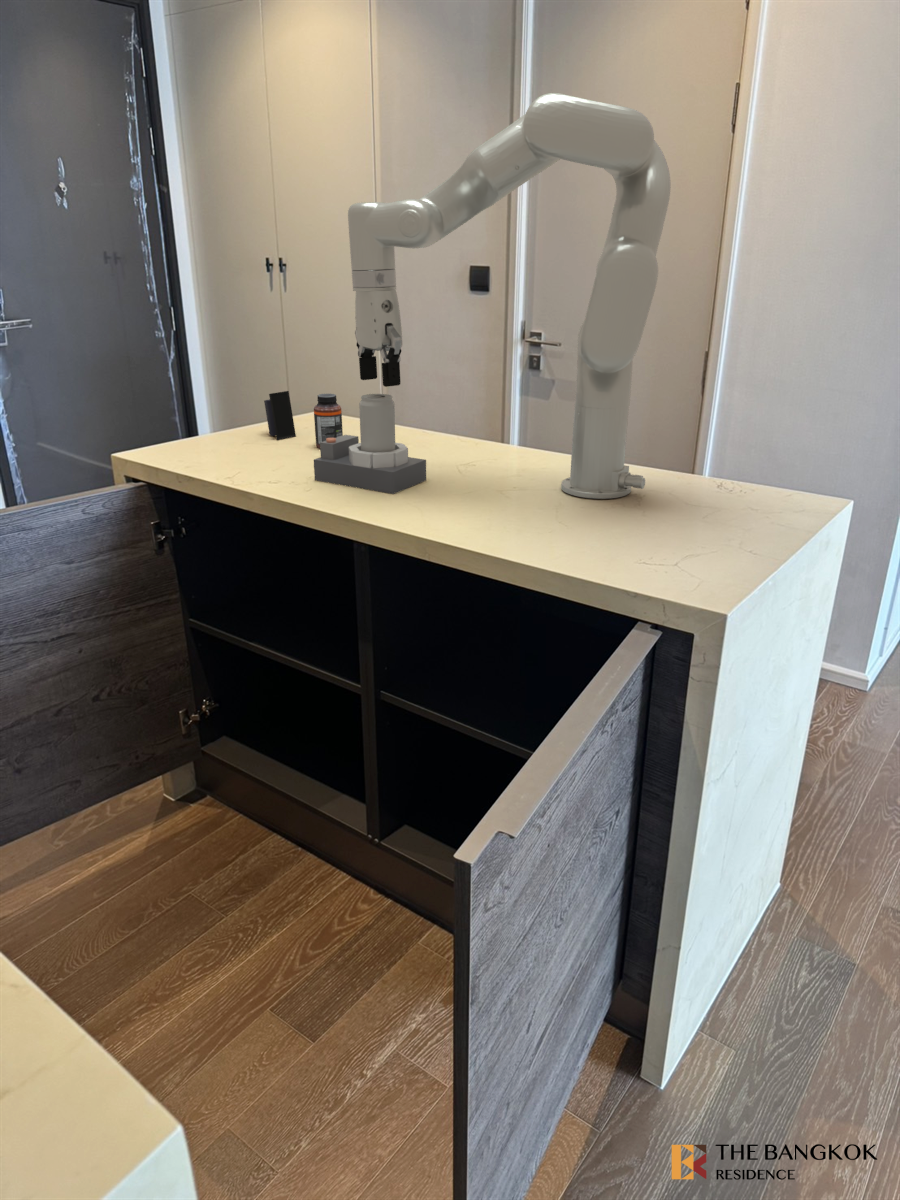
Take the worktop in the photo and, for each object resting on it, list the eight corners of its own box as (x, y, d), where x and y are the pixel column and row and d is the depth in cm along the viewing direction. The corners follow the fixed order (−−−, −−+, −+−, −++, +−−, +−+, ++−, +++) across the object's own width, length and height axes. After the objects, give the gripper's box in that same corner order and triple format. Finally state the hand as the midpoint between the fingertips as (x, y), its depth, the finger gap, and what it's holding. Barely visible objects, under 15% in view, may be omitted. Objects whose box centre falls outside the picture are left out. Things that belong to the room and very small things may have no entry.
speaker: (301, 436, 197) (294, 390, 194) (277, 440, 195) (270, 393, 191) (290, 434, 204) (283, 389, 200) (267, 437, 201) (259, 392, 198)
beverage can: (402, 459, 162) (401, 394, 157) (382, 466, 157) (380, 399, 152) (374, 455, 165) (372, 391, 160) (354, 462, 160) (351, 396, 155)
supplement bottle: (320, 443, 192) (317, 392, 187) (346, 444, 191) (344, 392, 187) (312, 449, 186) (309, 396, 182) (339, 450, 186) (336, 397, 181)
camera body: (426, 480, 163) (425, 440, 160) (393, 494, 155) (392, 452, 152) (350, 468, 172) (348, 429, 169) (314, 480, 163) (312, 440, 160)
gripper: (416, 281, 143) (420, 386, 150) (373, 279, 157) (378, 375, 164) (375, 283, 140) (381, 390, 146) (334, 281, 154) (342, 379, 160)
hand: (380, 382), depth 155 cm, fingers open, 9 cm apart
